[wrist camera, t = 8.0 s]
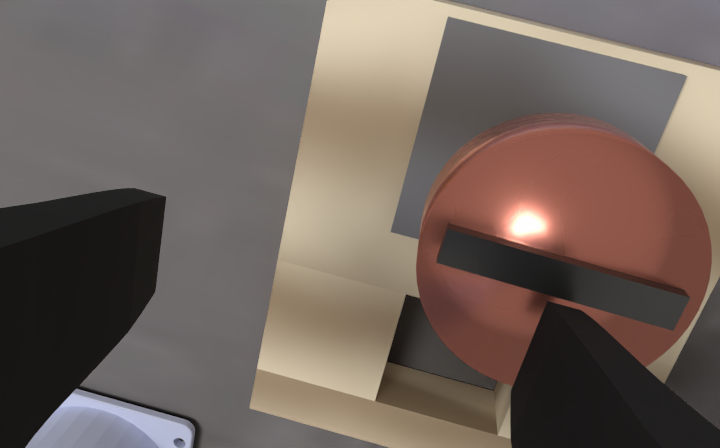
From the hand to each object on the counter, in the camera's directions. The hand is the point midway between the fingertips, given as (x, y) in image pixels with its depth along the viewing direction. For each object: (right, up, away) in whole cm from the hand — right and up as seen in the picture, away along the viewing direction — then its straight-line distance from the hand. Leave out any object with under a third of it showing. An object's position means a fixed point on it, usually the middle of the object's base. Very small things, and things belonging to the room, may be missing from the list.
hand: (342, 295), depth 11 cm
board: (+5, +1, +10) cm, 11 cm away
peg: (+5, +3, +6) cm, 8 cm away
